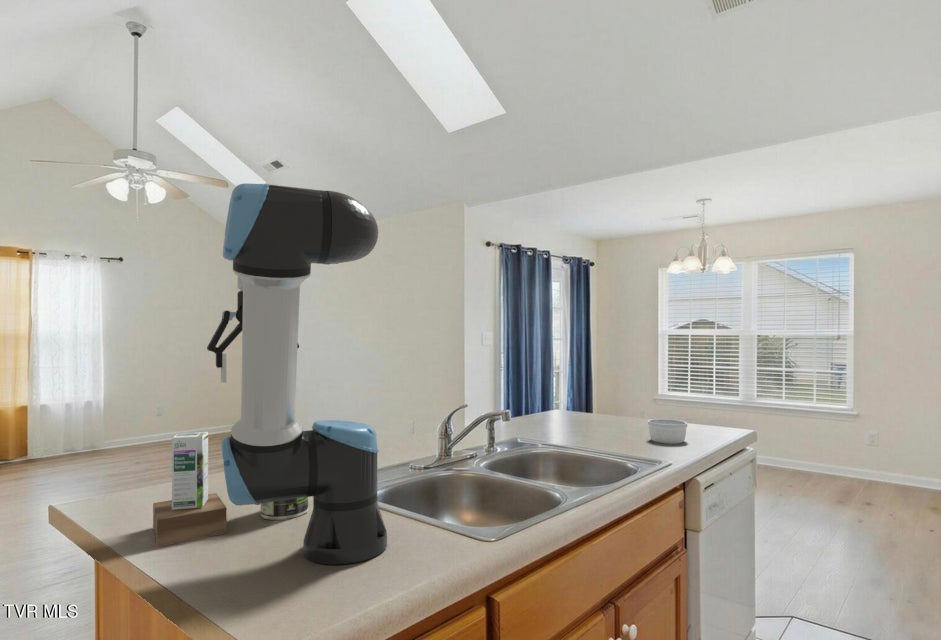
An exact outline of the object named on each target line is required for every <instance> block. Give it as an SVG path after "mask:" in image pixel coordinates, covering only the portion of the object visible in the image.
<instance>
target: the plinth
mask: <svg viewBox="0 0 941 640" xmlns="http://www.w3.org/2000/svg"><path fill="white" fill-rule="evenodd" d="M152 504H153V505H152V509H153V510H152V514H153V515H152V528H153V532H154V538H155V542H156V546H157V547H162V546H167V545H172V544H179V543H182V542H187V541H192V540H198V539H202V538H206V537H207V538H208V537H212V536H213V537H214V536H217V535H222V534H223V535H224V534H226V533H227V507H226V505H225V504H224V502H223V501H222V499H221V498H220V496H219V494H218V492H215V493H208V500H207V501H206V503H205V504H204V506H203V507H202V508H192V509H179V510H172V499H171V500H165V501H164V500H163V501H158V502H153V503H152Z"/></svg>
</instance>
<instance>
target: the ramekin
mask: <svg viewBox="0 0 941 640" xmlns="http://www.w3.org/2000/svg"><path fill="white" fill-rule="evenodd" d="M647 425H648V430H649V437H650V440H651V441H653V442H655V443H658V444H664V445H665V444H668V445H669V444H670V445H673V444H674V445H675V444H676V445H677V444H682V443H683V442H685V440H686V435H687V428H688V422H686V421H684V420H680V419H673V418H672V419H671V418H652V419H648V420H647Z"/></svg>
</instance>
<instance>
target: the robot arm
mask: <svg viewBox="0 0 941 640" xmlns="http://www.w3.org/2000/svg"><path fill="white" fill-rule="evenodd" d="M228 205H229V206H228V211H227V216H226V224H225V230H224V239H223V249H222V257H223V258H224V259H225V260H228V261H231V262H232V272H233V273H234V274H235V275H236V276H237V289H238V290H239V291H237V299H236V301H237V302H236V303H237V305H236V306H237V307H236V308H237V310H236V311H230V310H223V312H222V317H221V320H220V323H219V324H218V327H217V329H216V330H215V332H214V333H213V335H212V337H211V340H210V341H209V343H208V345H207V346H206V350H207V351H208V352H209V351H210V352H212V353H214V354H215V366H216V368H217V369H219V368H220V383H225V384H226V383H227V353H224V351H226V349H227V348H228V347H229V346H230V345H231V343H233V341H234V340H235V339H236V338H237V337H238V336H239V335H240V333H242V337H241V339H242V340H241V342H242V343H241V346H242V347H241V392H240V393H241V398H240V399H241V401H240V402H241V404H240V406H241V407H240V419H238V420H237V421H236V422H235V423H234V424H232V427H231V429H230V430H231V431H230V436H226V437H223V439H222V440H221V455H222V460H223V470H224V480H225V485H226V492H227V496H228V498H229V499H228V500H230V503H232V504H234V505H235V506H247V505H256V506H259V505H260V506H261V503H267V502H275V501H282V500H289V499H296V498H303V497H308V498H311V497H312V498H313V500H312V504H313V506H312V507H313V508H312V513H311V516H310V518H309V521H308V524H307V528H306V530H305V534H304V537H303V542H302V543H303V546H302V551H303V556H304V557H305V558H306V559H307V560H309V561H311V562H314V563H317V564H321V565H322V564H323V565H347V564H355V563H359V562H363V561H367V560H369V559H370V560H371V559H373V558H376V556H378V555H380V554H382V553H383V552H384V551H385V550H386V549H387V547H388V531H387V527H386V524H385V522H384V520H383V516H382V513H381V510H380V507H379V503H378V501H379V500H378V453H379V449H378V438H377V432H376V430H375V429H374V427H372V426H371V425H369V424H366V423H361V422H357V421H350V420H340V419H339V420H338V419H337V420H336V419H324V420H317V421H314V422H313V424H312V426H311V430H304V426H303V423H302V421H300V419H299V418H297V417H296V416H295V415H296V414H295V412H296V393H297V391H296V390H297V387H296V386H297V365H298V349H299V348H300V345H299V342H298V339H299V322H300V321H299V315H300V293H301V286H302V285H301V284H302V283H303V282H304V281H306V280H307V279H308V278H309V277H311V269H312V268H311V267H312V264H317V265H321V264H322V265H338V264H342V263H348V262H354V261H358V260H362V259H363V258H366V257H367V256H368V255H369V254H370V253H371V252H373V250H374V249H375V247H376V245H377V242H378V239H379V228H378V223H377V220H376V218H375V216H374V214H373V213H372V212H371V210H370V209H369V208H368V207H367V206H366V205H364V204H363V203H362V201H361V202H360V201H359V200H358V199H356V198H354V197H353V196H350V195H347V194H345V193H342V192H340V191H333V190H322V189H314V188H313V189H312V188H304V187H294V186H286V185H278V184H270V183H268V182H267V183H248V182H247V183H239V184H238V185H236V186H235V187H234V188H233V190H232V192H231V195H230V200H229V204H228ZM234 318H235V319H236V320H237V322H238V324H237V325H236V326H235V327H234V328H233V330H231V332H230V333H229V334H228V335H227V336H226V337H225V339H224V340H223V341H222V342H221V343H220V344H219V345H218V343H219V341H220V339H221V337H222V336H223V334H224V332H225V330H226V328H227V326H228V325H229V322H230V321H232V320H233V319H234ZM217 345H218V346H217Z"/></svg>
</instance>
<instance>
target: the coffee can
mask: <svg viewBox="0 0 941 640" xmlns="http://www.w3.org/2000/svg"><path fill="white" fill-rule="evenodd" d="M309 509H310V508H309V497H303V498H296V499H289V500H282V501H275V502H267V503H260V517H261V518H263V519H265V520H270V521H271V520H272V521H282V520H283V521H285V520H288V519H289V520H290V519H295V518H298V517H301V516H304V515H305V514H307V513H308V512H309Z"/></svg>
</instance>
